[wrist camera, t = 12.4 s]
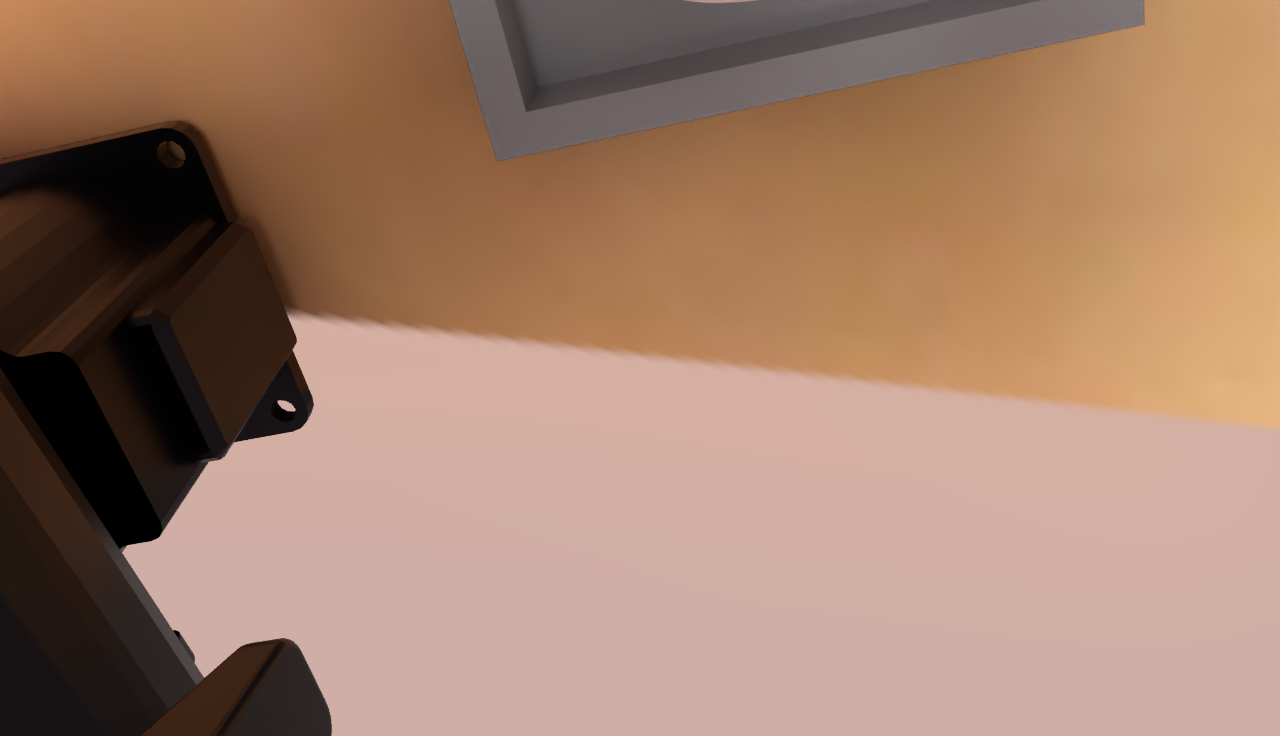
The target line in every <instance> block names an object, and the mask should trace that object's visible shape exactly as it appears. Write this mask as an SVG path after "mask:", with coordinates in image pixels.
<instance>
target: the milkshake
mask: <svg viewBox="0 0 1280 736" xmlns="http://www.w3.org/2000/svg"><path fill="white" fill-rule="evenodd" d="M686 1H692V2H702V3H733V2H746V1H755V0H686Z"/></svg>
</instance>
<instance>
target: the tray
mask: <svg viewBox="0 0 1280 736" xmlns="http://www.w3.org/2000/svg"><path fill="white" fill-rule="evenodd" d="M449 2H450V6H451V9H452V13H453V16H454V19H455V23H456V26H457V29H458V33H459V36H460V39H461V43H462V46H463V50H464V53H465V56H466V60H467V63H468V66H469V70H470V73H471V77H472V80H473V83H474V87H475V90H476V93H477V97H478V100H479V104H480V107H481V110H482V114H483V117H484V120H485V124H486V127H487V130H488V134H489V137H490V141H491V144H492V147H493V151H494V154H495V157H496V161H502V160H507V159H511V158H516V157H521V156H525V155H530V154H535V153H540V152H544V151H549V150H554V149H559V148H563V147H568V146H573V145H577V144H582V143H587V142H592V141H596V140H601V139H606V138H611V137H615V136H620V135H625V134H629V133H634V132H639V131H644V130H648V129H653V128H658V127H663V126H667V125H672V124H677V123H681V122H686V121H691V120H696V119H700V118H705V117H710V116H715V115H719V114H724V113H729V112H733V111H738V110H743V109H748V108H752V107H757V106H762V105H767V104H771V103H776V102H781V101H785V100H790V99H795V98H800V97H804V96H809V95H814V94H819V93H823V92H828V91H833V90H837V89H842V88H847V87H852V86H856V85H861V84H866V83H871V82H875V81H880V80H885V79H889V78H894V77H899V76H904V75H908V74H913V73H918V72H923V71H927V70H932V69H937V68H941V67H946V66H951V65H956V64H960V63H965V62H970V61H975V60H979V59H984V58H989V57H993V56H998V55H1003V54H1008V53H1012V52H1017V51H1022V50H1027V49H1031V48H1036V47H1041V46H1045V45H1050V44H1055V43H1060V42H1064V41H1069V40H1074V39H1079V38H1083V37H1088V36H1093V35H1098V34H1102V33H1107V32H1112V31H1116V30H1121V29H1126V28H1131V27H1135V26H1140V25H1145V19H1144V0H755V1H746V2H733V3H702V2H692V1H686V0H449Z"/></svg>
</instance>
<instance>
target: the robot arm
mask: <svg viewBox="0 0 1280 736" xmlns="http://www.w3.org/2000/svg"><path fill="white" fill-rule="evenodd" d="M167 141H173V142H175V143H176V144H178V145H180V146H181V148H182V149H183V150H184V152H185V157H186V160H185V161H178V160H176V159H174V158H172V157H171V156H170V154H169V153H168V152H167V148H166V142H167ZM296 342H297V339H296V335H295V333H294V330H293V328H292V326H291V323H290V321H289V318H288V316H287V314H286V311H285V309H284V306H283V304H282V302H281V299H280V297H279V294H278V292H277V290H276V287H275V285H274V282H273V280H272V278H271V275H270V273H269V270H268V268H267V266H266V263H265V261H264V258H263V256H262V254H261V251H260V249H259V246H258V244H257V242H256V239H255V237H254V234H253V232H252V230H251V229H249V228H248V227H247V226H245V225H244V224H242V223H241V222H240V221H238V219H237V217H236V214H235V212H234V210H233V207H232V205H231V203H230V200H229V198H228V195H227V193H226V191H225V188H224V186H223V184H222V181H221V179H220V176H219V174H218V172H217V169H216V167H215V165H214V162H213V160H212V157H211V155H210V153H209V150H208V148H207V146H206V143H205V141H204V140H203V138H202V137H201V135H200V133H199V132H198V131H196V130H195V129H194V128H193V127H191V126H190V125H187V124H185V123H182V122H165V123H161V124H156V125H152V126H147V127H143V128H138V129H134V130H129V131H125V132H121V133H116V134H112V135H107V136H103V137H98V138H94V139H90V140H85V141H81V142H76V143H72V144H67V145H63V146H59V147H54V148H50V149H45V150H41V151H36V152H32V153H28V154H23V155H19V156H14V157H10V158H5V159H1V160H0V736H331V734H332V724H331V716H330V712H329V708H328V706H327V703H326V701H325V699H324V697H323V695H322V693H321V691H320V689H319V687H318V685H317V682H316V680H315V678H314V676H313V674H312V672H311V670H310V668H309V666H308V664H307V662H306V660H305V658H304V656H303V654H302V652H301V650H300V648H299V647H298V646H297V645H296V644H295V643H294V642H293V641H291V640H289V639H285V638H281V639H275V640H268V641H262V642H255V643H250V644H246V645H244V646H241V647H240V648H239V649H237V650H236V651H235V652H234V653H233V654H231V656H229V657H228V658H227V659H226V660H225V661H223V662H222V663H221V664H220V665H219V666H218V667H217V668H216V669H214V670H213V671H212V672H211V673H210V674H209V675H208V676H206V677H205V678H204V677H203V676H202V674H201V673H200V671H199V669H198V668H197V666H196V665H195V663H194V661H195V657H194V654H193V652H192V651H191V649H190V648H189V646H188V645H187V643H186V642H185V640H184V639H183V637H182V635H181V634H180V632H178V631H176V630H172V628H171V627H170V625H169V624H168V622H167V621H166V619H165V618H164V616H163V615H162V613H161V612H160V610H159V609H158V607H157V605H156V604H155V602H154V601H153V599H152V598H151V596H150V595H149V593H148V592H147V590H146V589H145V587H144V586H143V584H142V583H141V581H140V580H139V578H138V577H137V575H136V574H135V572H134V571H133V569H132V568H131V566H130V565H129V563H128V561H127V560H126V558H125V557H124V555H123V554H122V552H123V550H124V549H125V548H126V546H127V545H131V544H137V543H143V542H149V541H152V540H155V539H157V538H159V537H160V535H161V534H162V532H163V531H164V529H165V528H166V526H167V525H168V523H169V522H170V520H171V518H172V517H173V515H174V514H175V512H176V511H177V509H178V508H179V506H180V505H181V503H182V502H183V500H184V499H185V497H186V496H187V494H188V493H189V491H190V489H191V488H192V486H193V485H194V483H195V482H196V480H197V479H198V477H199V476H200V474H201V473H202V471H203V470H204V468H205V466H206V465H207V464H208V462H209V461H215V460H220V459H222V458H223V457H225V455H226V453H227V452H228V450H229V449H230V447H231V445H232V444H233V443H234V442H238V441H243V440H248V439H254V438H260V437H265V436H271V435H276V434H281V433H287V432H293V431H295V430H298V429H300V428H301V427H302V426H303V425H304V424H305V423H306V422H307V420H308V418H309V416H310V414H311V413H312V409H313V406H314V404H313V398H312V395H311V393H310V390H309V388H308V386H307V383H306V381H305V379H304V376H303V374H302V371H301V369H300V367H299V364H298V362H297V359H296V357H295V355H294V352H293V348H294V346H295V344H296ZM278 400H284V401H287V402H289V403H291V404H292V405H293V406H294V408H295V409H296V411H294V412H292V411H286V410H284V409H282V408H281V407H280V406H279V404H278V402H277V401H278Z"/></svg>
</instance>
